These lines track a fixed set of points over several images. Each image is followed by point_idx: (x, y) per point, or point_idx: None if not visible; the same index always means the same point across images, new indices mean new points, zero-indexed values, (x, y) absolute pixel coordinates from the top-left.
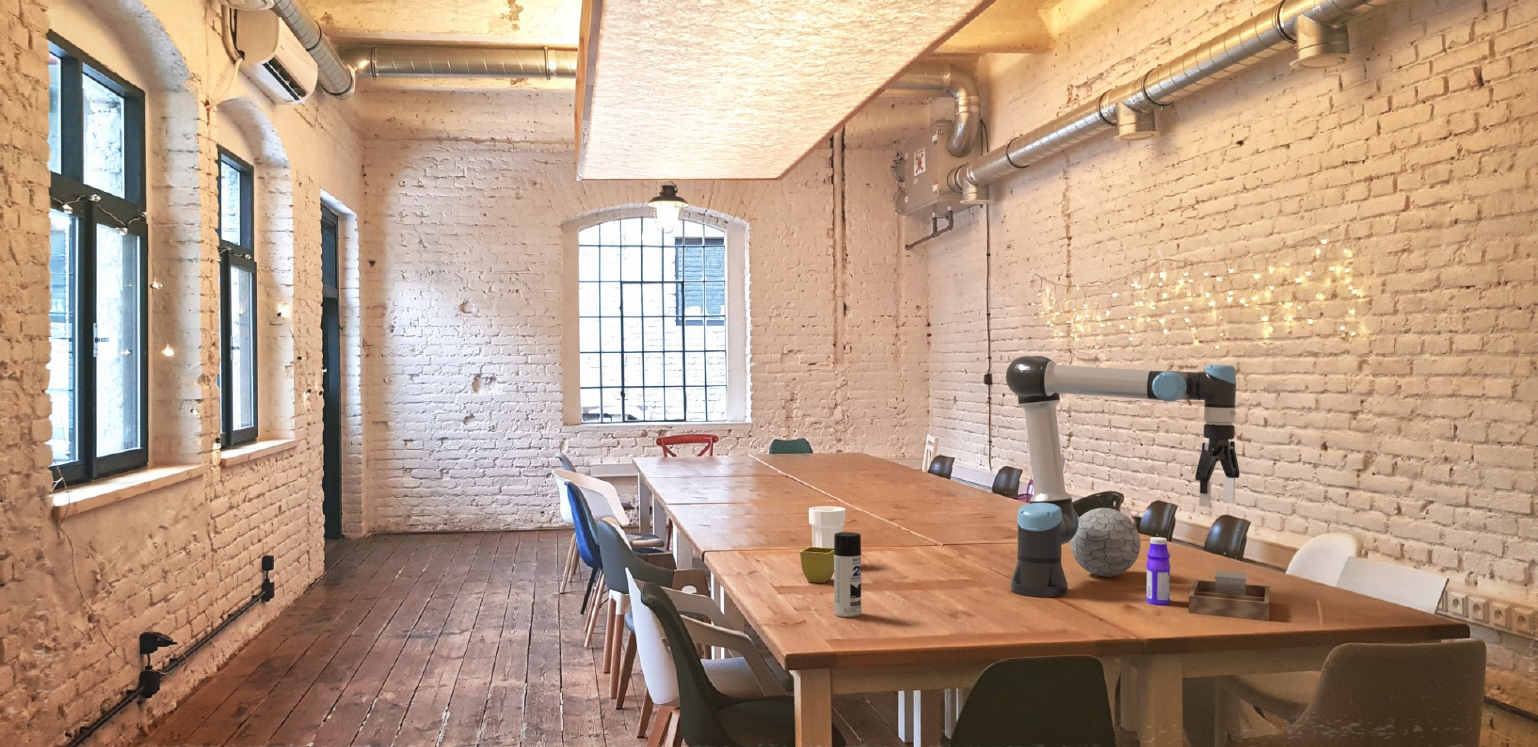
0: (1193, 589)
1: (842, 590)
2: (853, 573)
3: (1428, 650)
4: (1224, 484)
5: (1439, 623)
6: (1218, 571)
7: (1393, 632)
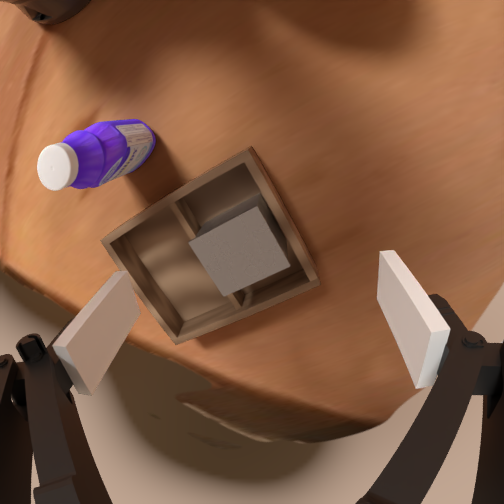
0: (150, 211)
1: None
2: None
3: (234, 445)
4: (411, 306)
5: (375, 419)
6: (249, 216)
7: (285, 415)
